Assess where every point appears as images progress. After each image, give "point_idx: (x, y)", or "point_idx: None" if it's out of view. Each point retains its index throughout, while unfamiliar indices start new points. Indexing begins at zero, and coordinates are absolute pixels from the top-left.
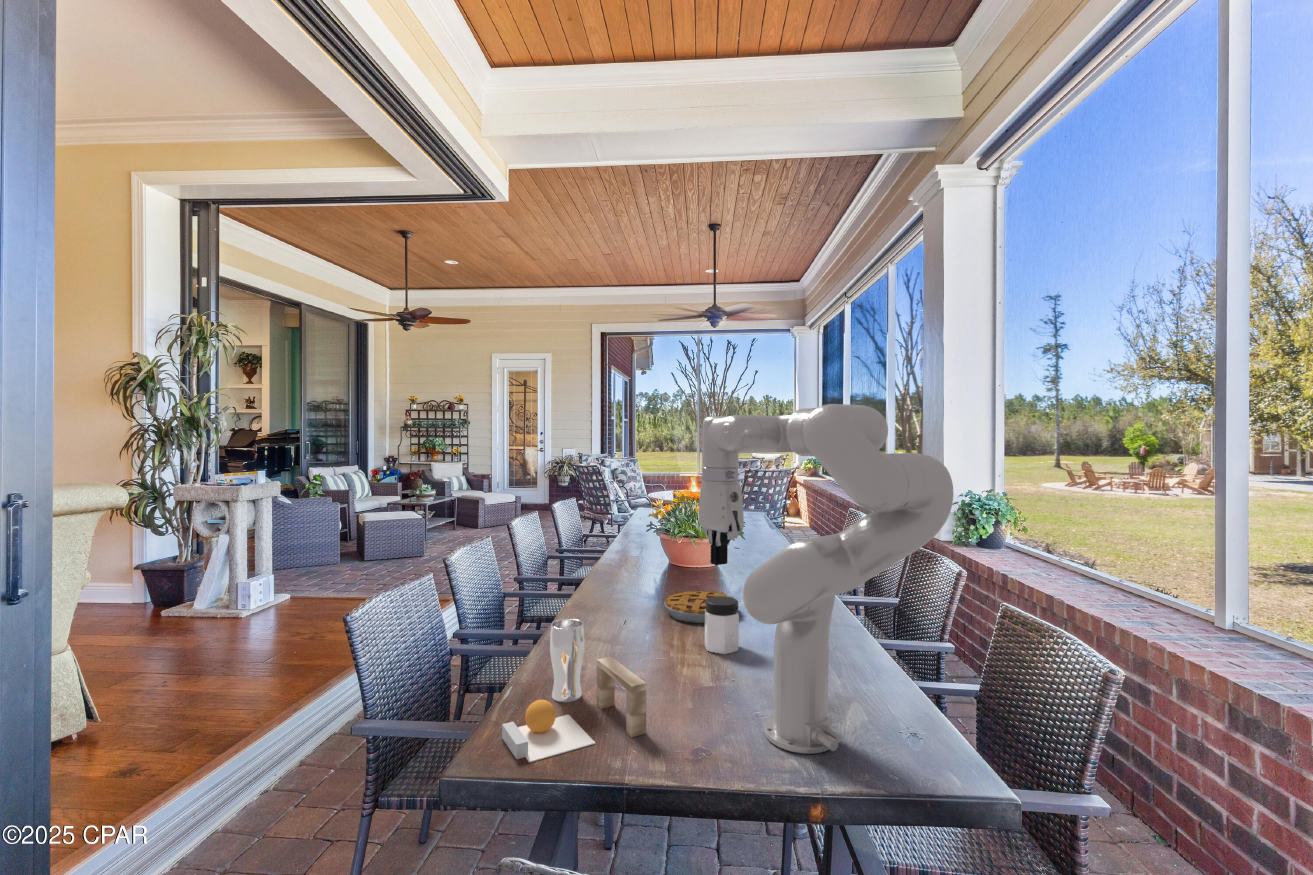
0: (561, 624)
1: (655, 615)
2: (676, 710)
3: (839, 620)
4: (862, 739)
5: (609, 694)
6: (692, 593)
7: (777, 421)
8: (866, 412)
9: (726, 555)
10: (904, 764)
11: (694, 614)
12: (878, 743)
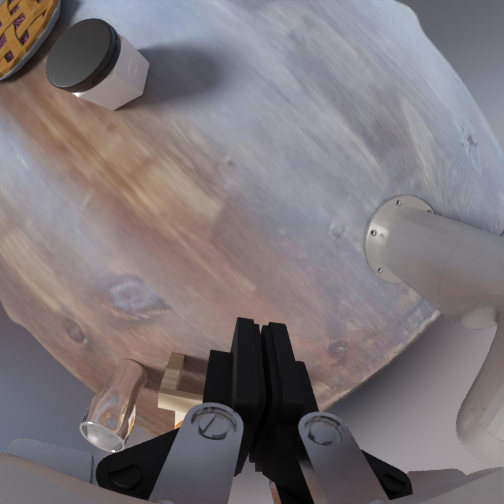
0: (83, 425)
1: None
2: (247, 309)
3: None
4: (447, 190)
5: (181, 370)
6: None
7: None
8: None
9: (307, 375)
10: (481, 208)
11: (24, 57)
12: (458, 186)
